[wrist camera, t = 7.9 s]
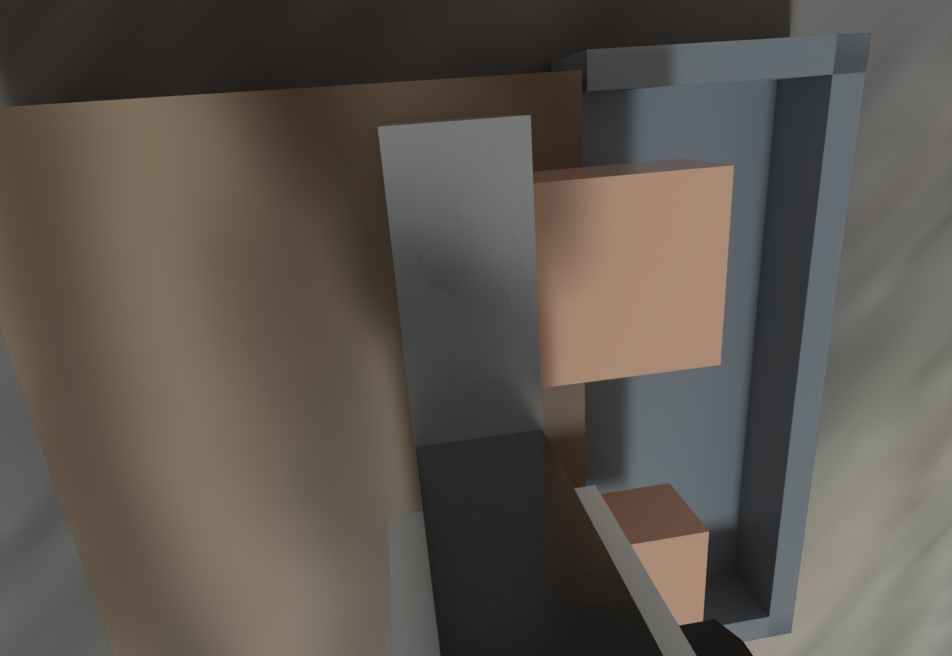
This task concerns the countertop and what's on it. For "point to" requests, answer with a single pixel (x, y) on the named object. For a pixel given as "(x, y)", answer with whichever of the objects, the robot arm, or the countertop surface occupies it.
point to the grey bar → (490, 404)
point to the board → (234, 350)
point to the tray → (736, 294)
